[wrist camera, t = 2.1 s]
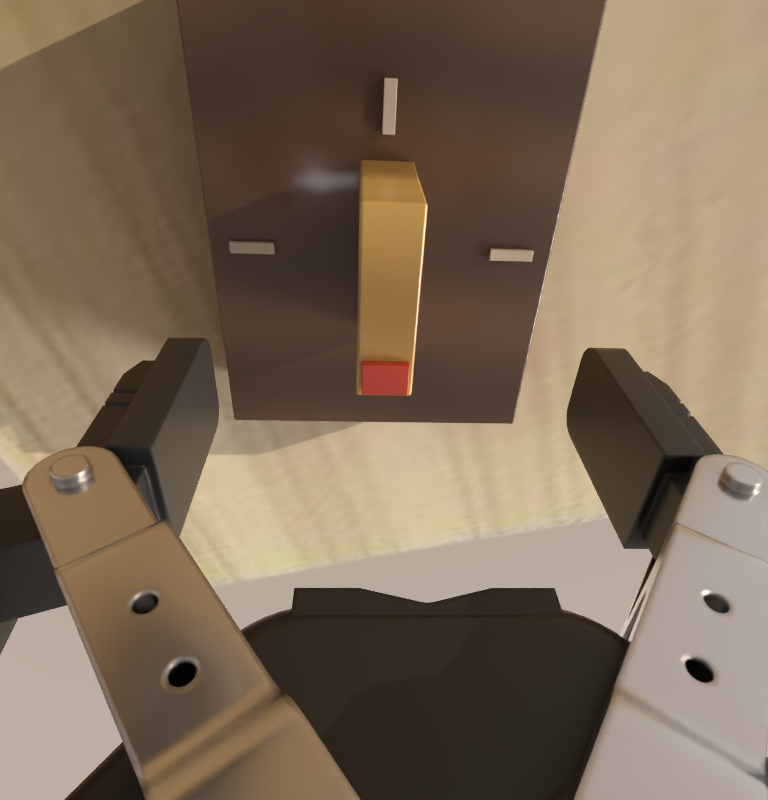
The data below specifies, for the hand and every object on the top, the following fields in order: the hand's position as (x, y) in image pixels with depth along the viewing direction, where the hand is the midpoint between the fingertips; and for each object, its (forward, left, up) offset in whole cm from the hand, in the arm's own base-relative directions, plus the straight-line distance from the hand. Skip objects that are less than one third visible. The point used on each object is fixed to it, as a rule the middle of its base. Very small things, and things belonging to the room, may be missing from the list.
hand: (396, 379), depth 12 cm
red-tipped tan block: (0, 0, -7) cm, 7 cm away
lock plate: (0, 0, -10) cm, 10 cm away
